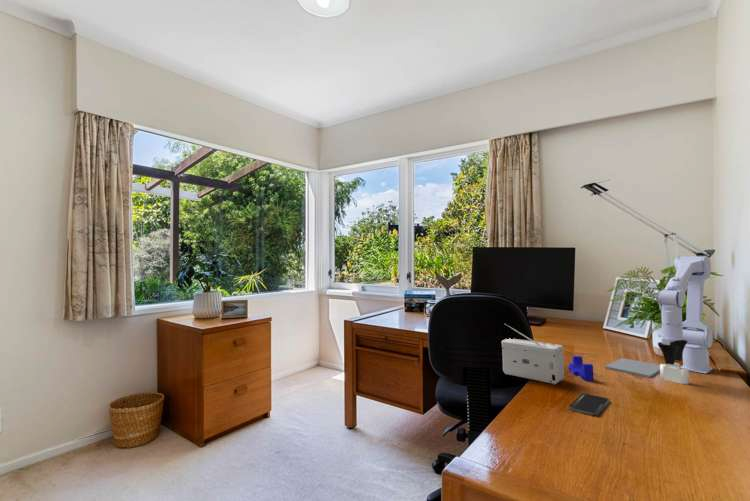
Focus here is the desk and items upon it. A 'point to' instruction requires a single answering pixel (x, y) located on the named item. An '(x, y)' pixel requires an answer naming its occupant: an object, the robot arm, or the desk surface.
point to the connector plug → (674, 373)
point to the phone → (589, 404)
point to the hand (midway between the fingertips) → (673, 361)
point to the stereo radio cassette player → (533, 359)
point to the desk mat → (634, 367)
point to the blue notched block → (581, 369)
